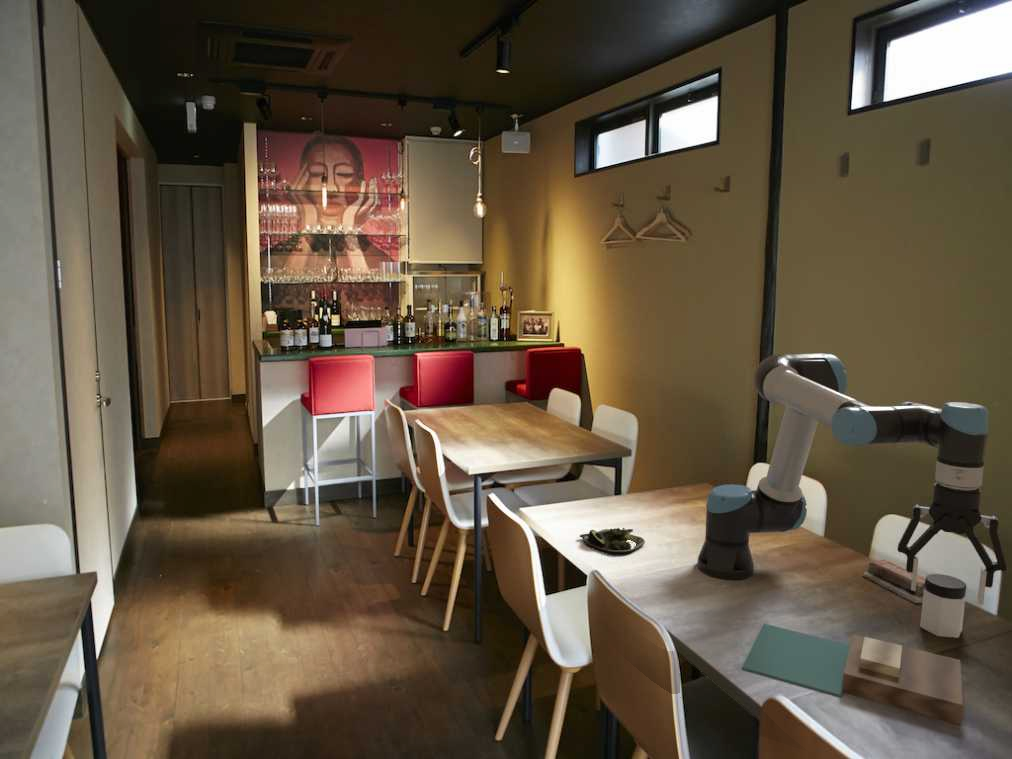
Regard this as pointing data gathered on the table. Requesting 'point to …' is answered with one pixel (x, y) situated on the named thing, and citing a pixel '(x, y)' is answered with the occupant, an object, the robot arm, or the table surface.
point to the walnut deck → (909, 683)
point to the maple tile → (881, 656)
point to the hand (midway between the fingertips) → (946, 594)
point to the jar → (943, 605)
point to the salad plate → (612, 541)
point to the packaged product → (896, 579)
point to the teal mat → (798, 659)
